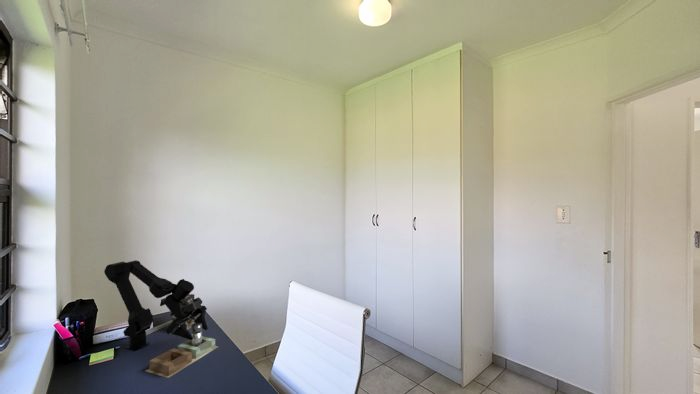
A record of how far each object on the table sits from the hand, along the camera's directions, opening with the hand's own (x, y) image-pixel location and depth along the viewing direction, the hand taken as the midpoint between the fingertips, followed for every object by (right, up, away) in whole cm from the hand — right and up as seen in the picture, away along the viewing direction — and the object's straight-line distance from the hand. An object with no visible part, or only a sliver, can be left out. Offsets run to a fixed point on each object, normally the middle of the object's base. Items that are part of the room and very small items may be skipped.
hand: (199, 334), depth 126 cm
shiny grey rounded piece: (-1, -7, 0) cm, 7 cm away
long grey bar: (-32, -8, +27) cm, 42 cm away
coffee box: (-20, -8, +23) cm, 31 cm away
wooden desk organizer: (-3, -8, -5) cm, 10 cm away
